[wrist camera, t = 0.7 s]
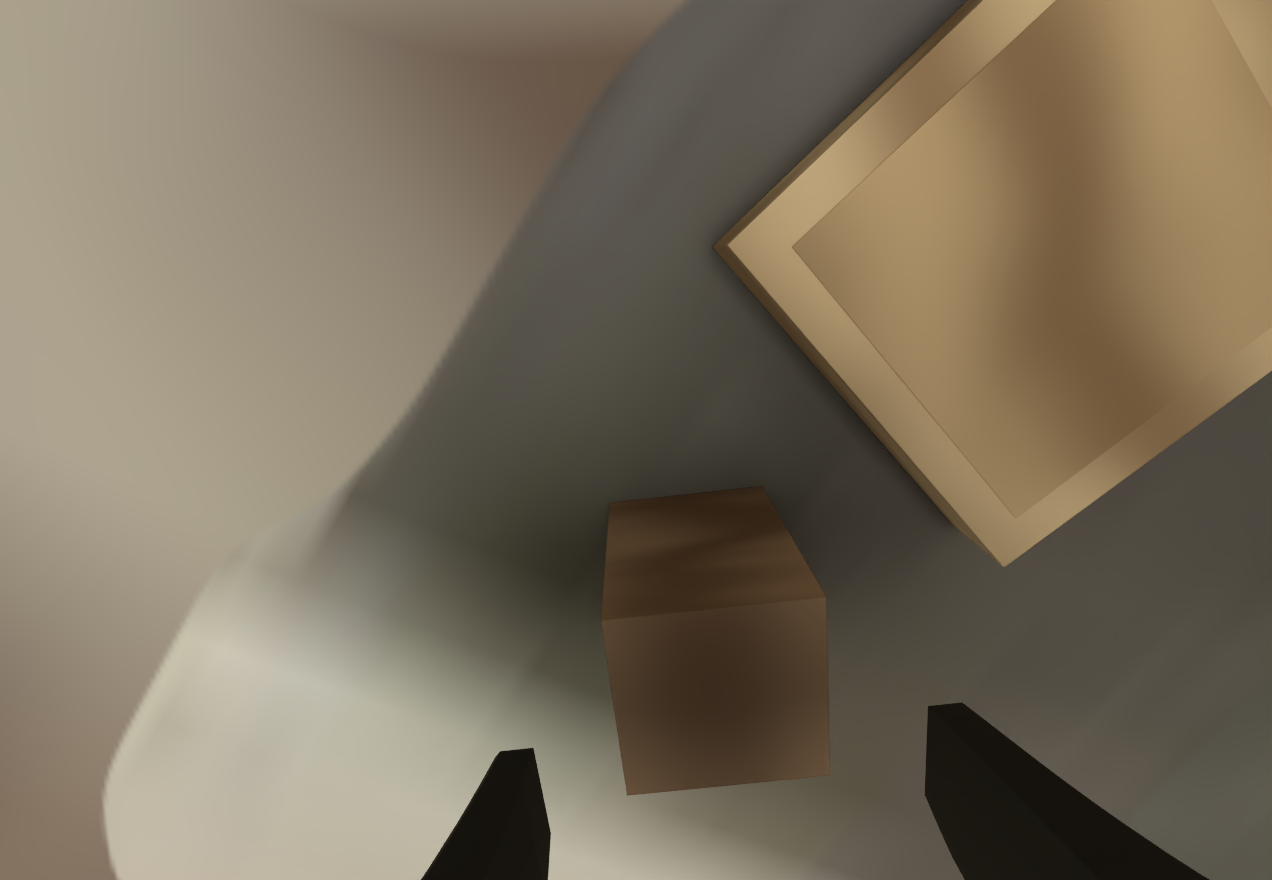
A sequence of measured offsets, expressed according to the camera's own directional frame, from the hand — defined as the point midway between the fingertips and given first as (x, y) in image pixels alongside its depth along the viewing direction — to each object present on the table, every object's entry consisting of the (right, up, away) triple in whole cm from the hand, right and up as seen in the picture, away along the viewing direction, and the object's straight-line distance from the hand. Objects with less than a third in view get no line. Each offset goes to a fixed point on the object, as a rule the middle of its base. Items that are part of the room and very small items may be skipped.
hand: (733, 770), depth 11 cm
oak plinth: (+8, +11, +5) cm, 14 cm away
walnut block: (0, +2, +7) cm, 8 cm away
